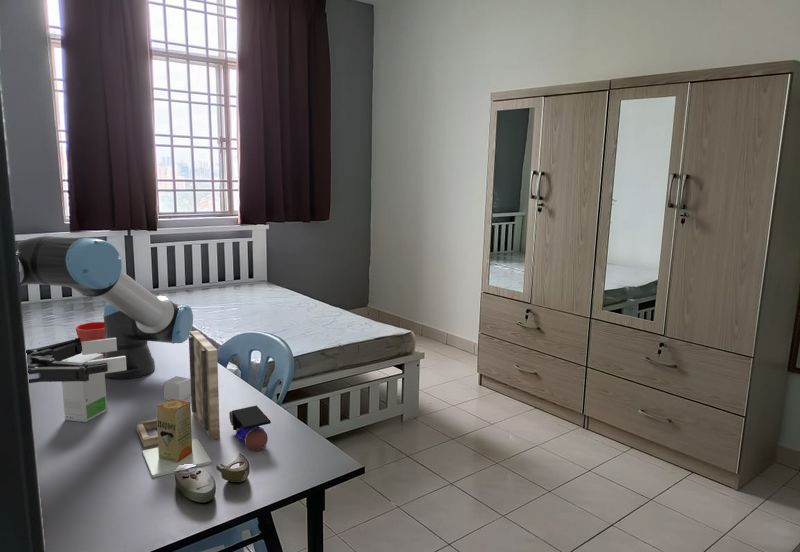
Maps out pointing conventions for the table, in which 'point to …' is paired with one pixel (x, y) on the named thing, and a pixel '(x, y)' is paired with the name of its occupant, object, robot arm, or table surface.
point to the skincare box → (84, 393)
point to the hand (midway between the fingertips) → (121, 353)
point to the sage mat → (167, 467)
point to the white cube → (177, 388)
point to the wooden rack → (197, 390)
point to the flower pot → (91, 332)
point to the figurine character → (250, 426)
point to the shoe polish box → (174, 430)
